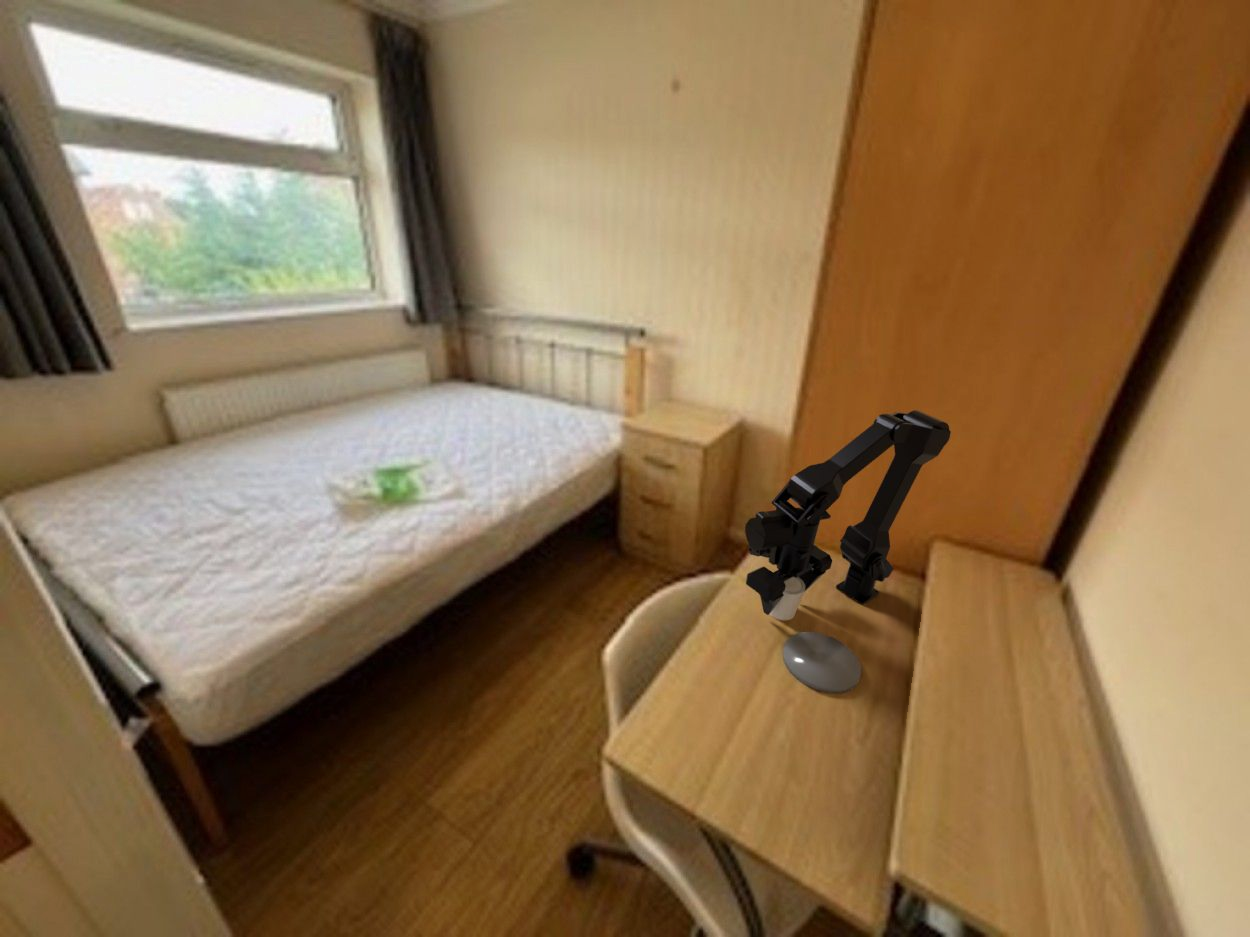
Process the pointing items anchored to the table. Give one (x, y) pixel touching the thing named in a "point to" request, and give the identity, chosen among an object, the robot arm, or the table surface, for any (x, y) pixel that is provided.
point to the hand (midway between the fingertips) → (781, 604)
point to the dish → (821, 662)
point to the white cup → (789, 599)
